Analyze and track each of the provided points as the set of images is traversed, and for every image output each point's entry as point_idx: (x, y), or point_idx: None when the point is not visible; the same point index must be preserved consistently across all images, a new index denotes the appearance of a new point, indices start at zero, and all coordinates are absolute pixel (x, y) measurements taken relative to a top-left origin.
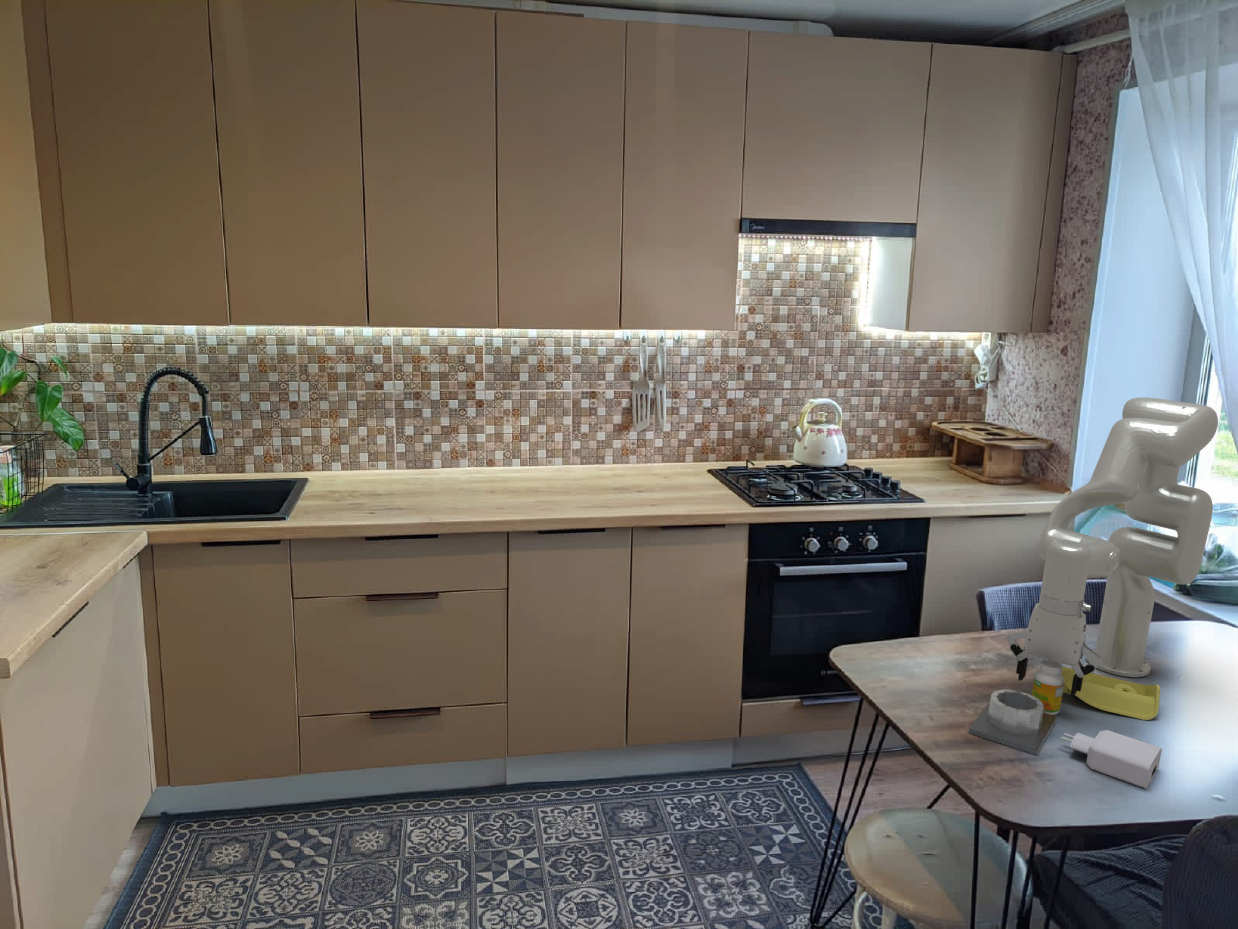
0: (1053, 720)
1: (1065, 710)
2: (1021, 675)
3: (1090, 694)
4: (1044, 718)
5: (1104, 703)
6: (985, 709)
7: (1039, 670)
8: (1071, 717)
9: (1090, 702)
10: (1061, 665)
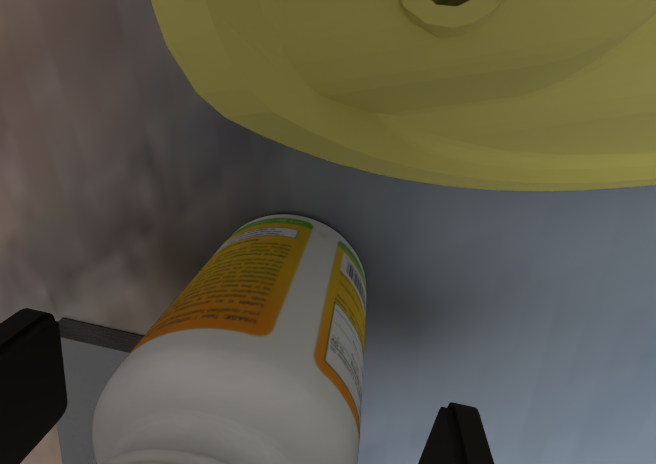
0: None
1: (400, 245)
2: (27, 444)
3: (611, 131)
4: None
5: None
6: (65, 447)
7: (102, 450)
8: (427, 312)
9: (579, 183)
10: None
